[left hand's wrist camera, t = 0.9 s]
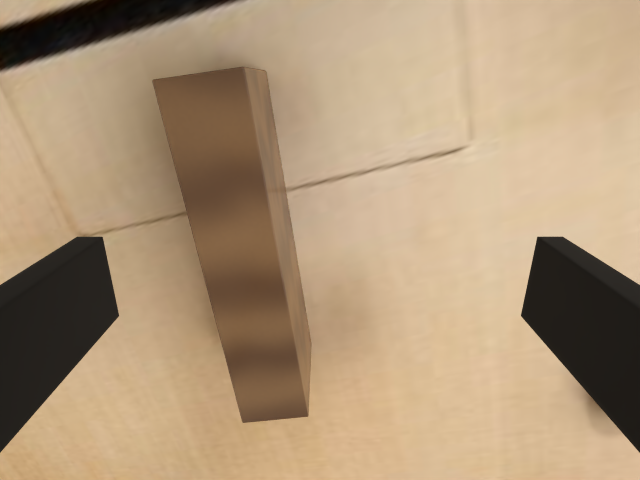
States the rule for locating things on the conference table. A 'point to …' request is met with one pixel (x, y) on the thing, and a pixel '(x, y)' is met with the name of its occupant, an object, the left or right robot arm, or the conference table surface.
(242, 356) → the bar
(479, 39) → the conference table surface
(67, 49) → the conference table surface
